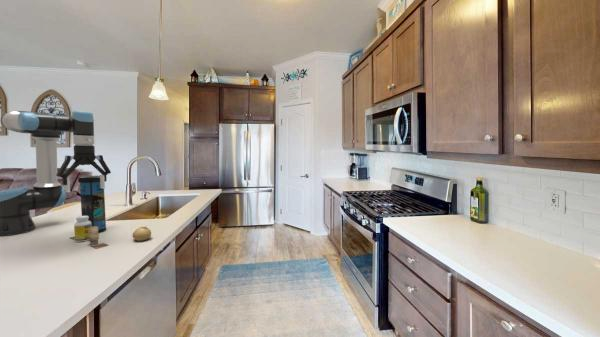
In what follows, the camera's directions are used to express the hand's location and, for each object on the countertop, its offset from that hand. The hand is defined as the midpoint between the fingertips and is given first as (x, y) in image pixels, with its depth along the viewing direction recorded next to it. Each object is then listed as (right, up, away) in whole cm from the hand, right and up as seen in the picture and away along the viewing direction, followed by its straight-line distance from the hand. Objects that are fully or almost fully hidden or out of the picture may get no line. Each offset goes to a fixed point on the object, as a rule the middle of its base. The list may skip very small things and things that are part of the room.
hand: (86, 190), depth 123 cm
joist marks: (-2, -25, +4) cm, 26 cm away
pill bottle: (-6, -25, +6) cm, 27 cm away
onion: (+22, -26, +7) cm, 35 cm away
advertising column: (-11, -24, +19) cm, 33 cm away
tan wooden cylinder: (+3, -26, +1) cm, 26 cm away
